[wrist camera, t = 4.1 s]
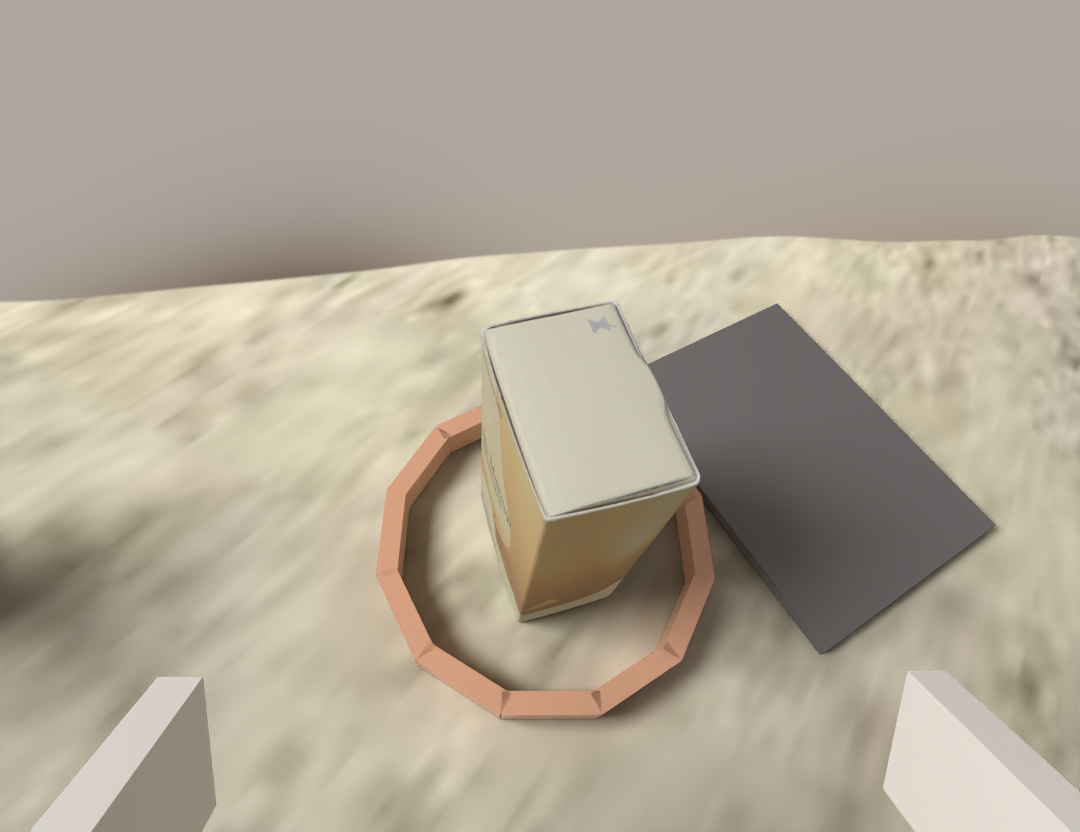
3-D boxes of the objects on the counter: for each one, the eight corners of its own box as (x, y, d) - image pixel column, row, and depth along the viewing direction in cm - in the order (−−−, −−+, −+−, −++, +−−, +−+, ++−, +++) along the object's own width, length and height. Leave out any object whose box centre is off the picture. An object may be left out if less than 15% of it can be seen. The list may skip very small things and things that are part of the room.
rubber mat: (772, 310, 35) (777, 303, 34) (986, 529, 28) (995, 525, 28) (615, 385, 31) (617, 378, 30) (819, 653, 25) (826, 651, 24)
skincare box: (477, 492, 27) (472, 315, 17) (568, 469, 28) (615, 288, 18) (518, 633, 24) (541, 524, 14) (617, 602, 25) (709, 478, 15)
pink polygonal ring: (589, 372, 31) (594, 354, 30) (763, 604, 26) (778, 595, 24) (336, 488, 27) (329, 474, 26) (479, 797, 21) (478, 799, 20)
